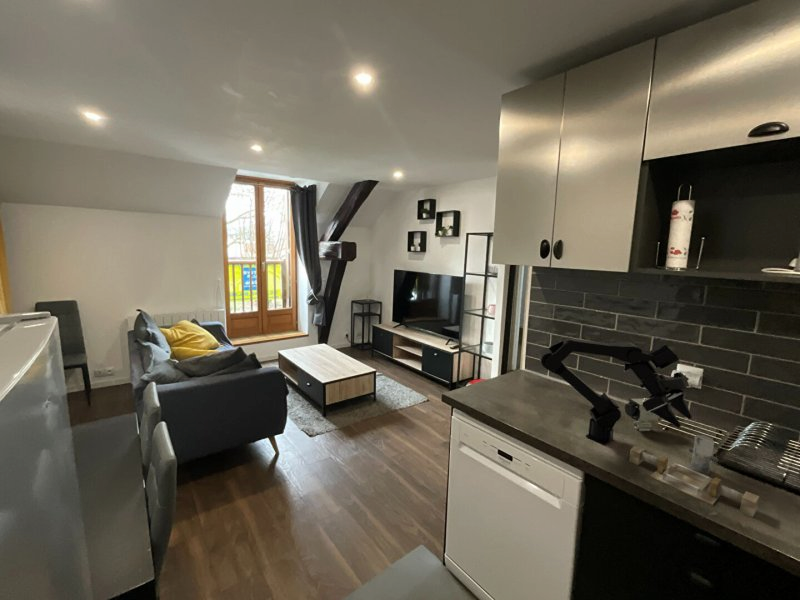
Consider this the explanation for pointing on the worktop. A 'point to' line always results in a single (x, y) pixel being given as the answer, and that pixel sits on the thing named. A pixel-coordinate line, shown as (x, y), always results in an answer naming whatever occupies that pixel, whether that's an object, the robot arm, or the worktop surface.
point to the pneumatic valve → (640, 414)
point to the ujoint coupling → (702, 454)
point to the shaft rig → (694, 482)
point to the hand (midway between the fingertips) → (685, 422)
